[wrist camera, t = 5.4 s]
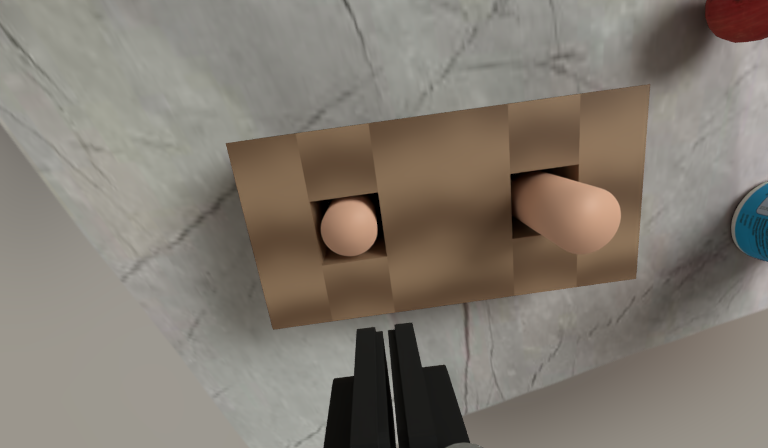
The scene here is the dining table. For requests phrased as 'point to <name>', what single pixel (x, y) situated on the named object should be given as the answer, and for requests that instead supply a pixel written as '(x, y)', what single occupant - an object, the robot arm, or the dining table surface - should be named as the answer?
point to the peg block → (438, 205)
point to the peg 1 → (350, 224)
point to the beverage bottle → (752, 223)
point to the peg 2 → (565, 210)
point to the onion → (738, 19)
